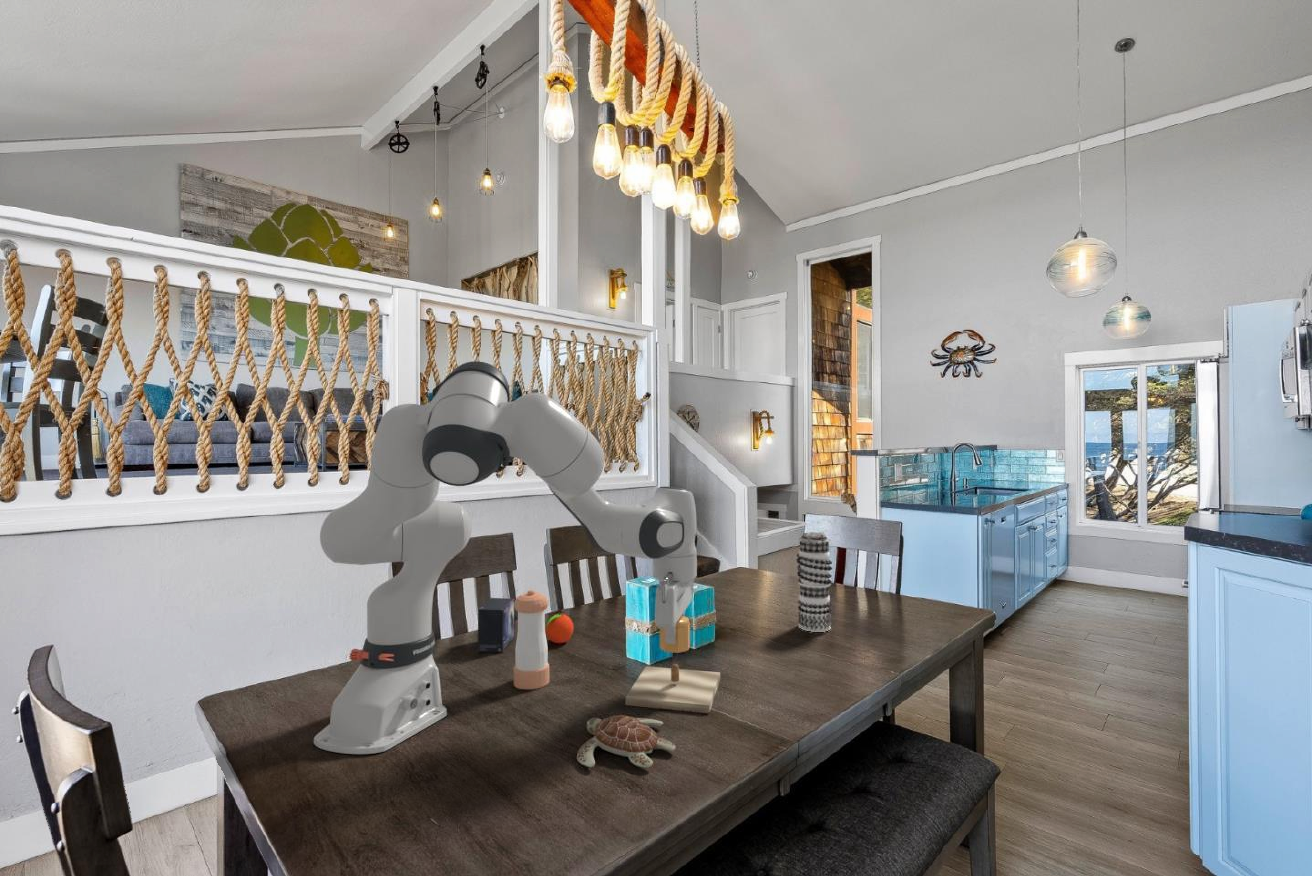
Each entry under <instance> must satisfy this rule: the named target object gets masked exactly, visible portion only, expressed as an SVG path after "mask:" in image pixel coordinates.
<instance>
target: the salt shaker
mask: <svg viewBox="0 0 1312 876" xmlns="http://www.w3.org/2000/svg"><path fill="white" fill-rule="evenodd" d="M548 606H549V599H548V598H547V596H546V595H545V594H542V593H539V592H536V591H535V590H534V589H529V590H527V592H526V593H522V594H520V595H518V596H517V597H516V599H514V610H515V611H516V612H517V636H516V641H515V649H514V651H515V652H514V653H515V654H514V655H515V664H514V666H513V686H514V687H515V688H517V689H519V690H536V689H540V688H541V689H542V688H543V687H546V686H547V685H548V684H549V683H550V664H549V662H548V651H549V649H548V641H547V637H546V636H547V634H546V630H545V629H546V622H545V620H546V617H545V616H546V614H545V610H547V608H548Z"/></svg>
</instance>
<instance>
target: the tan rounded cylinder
mask: <svg viewBox="0 0 1312 876" xmlns="http://www.w3.org/2000/svg"><path fill="white" fill-rule="evenodd" d="M675 629H676V642H675V643H674V644H667V643H666V634H665V630H664V628H661V627H659V649H660V650H662V651H664V652H666V653H674V654H675V653H676V654H679V653H682V652H683V653H684V652H687V651H689V650H690V647H691V622H690V619H689V617H686V616H685V615H684V616H681V617H680V619H679V620H678V622H677V623H676V626H675Z"/></svg>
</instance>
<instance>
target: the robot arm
mask: <svg viewBox="0 0 1312 876" xmlns="http://www.w3.org/2000/svg"><path fill="white" fill-rule="evenodd" d="M431 391H432V392H431V393H432V394H431V395H432V399H431V401H429V402H428V403H426V404H417V403H402V404H398V405H396V406H393V407H392V408H389V410H387V411H386V412H385V413H384V415H383V416H382V417H381V419H380V422H379V424H378V425H377V429H376V432H375V435H374V439H373V441H372V442H373V443H372V449H371V456H370V457H371V458H370V468H369V469H370V470H369V477H368V482H367V486H366V487H365V489H364V491H362V492H361V494H359V495H358V496H357V497H356V498H355V499H353V500H351V501H350V502H348V503H346V504H344V505H342V506H340V507H338V508H335V509H333V510H332V511H331V512H330V513H329V514H328V515H327V516H326V518H325V519H324V521H323V523H322V525H321V528H320V531H319V532H320V533H319V541H320V546H321V549H322V551H323V552H324V554H325V556H326V557H327V558H328V559H329V560H330V561H332V562H333V563H335V564H344V565H345V564H346V565H357V566H360V565H361V566H364V565H365V566H366V565H375V564H376V565H377V564H388V563H397V562H402V563H403V566H402V568H401V569H400V572H398V574H396V575H395V576H393V577H391V578H390V579H388V580H386V581H384V582H383V583H381V584H380V585H378V586H377V587H376V588H374V590H373V591H371V592H370V594H369V597H368V599H367V601H366V630H367V632H366V633H367V634H366V635H367V636H366V638H365V640H364V642H363V643H364V644H363V646H362V649H358V648H353V649H351V651H350V653H349V656H348V657H349V660H350V661H351V662H355V661H356V662H357V661H358V662H359V663H360V664H359V666H358V668H356V670H355V671H354V672H353V674H352V676H351V677H350V678H349V680H348V682H347V683H346V684H345V686H344V687H343V688H342V689H341V691H340V692H339V694H338V696H336V698H335V699H334V701H333V702H332V706H331V711H330V722H329V724H328V725H327V726H325V727H324V728H323V729H322V730H321V731H319V732H318V733H317V734H316V735H315V736H314V738H313V744H314V745H315V746H316V748H319V749H321V750H324V751H327V752H333V753H339V754H348V755H349V754H350V755H369V754H370V755H371V754H377V753H382V752H386V751H388V750H390V749H392V748H394V747H395V746H397V745H399V744H401V743H402V742H403V741H405V740H407V739H409V738H410V737H412V736H414V735H416V734H417V733H419V732H421V731H422V730H424V729H426V728H428V727H430V726H432V725H433V724H434V723H437V722H438V721H441V720H442V719H444V718H445V717H447V715H448V711H447V708H446V706H445V705H443V702H442V701H443V700H442V691H441V679H440V673H439V668H438V666H437V664H436V662H435V660H434V656H433V653H434V652H435V643H436V641H435V639H436V638H435V632H434V631H433V629H432V628H433V627H432V625H433V624H432V622H433V621H432V617H433V614H432V613H433V603H434V602H433V601H434V592H435V588H436V585H437V583H438V579H439V578H440V576H441V573H443V571H444V569H445V568H446V566H447V565H448V564H449V563H450V562H451V561H452V559H454V557H456V556H457V555H458V554H459V553H461V552H462V551H463V550H464V549H465V548H466V546H467V544H468V542H469V540H470V539H471V535H472V529H473V528H472V520H471V518H470V515H469V514H470V513H468V511H467V510H466V508H465V507H464V506H463V505H462V504H461V503H458V502H452V501H445V500H438V499H437V496H438V494H439V489H440V483H443V484H446V485H449V486H454V487H464V486H465V487H466V486H469V485H474V484H476V483H477V484H478V483H479V482H483V481H484V480H486V479H488V478H489V477H490V476H491V475H493V474H495V473H501V472H502V471H504V470H505V468H507V466H508V465H509V462H510V457H513V458H517V459H519V460H520V461H522V462H523V463H524V464H525V465H527V467H528V468H529V469H530V470H531V471H533V473H535V475H537V476H538V477H539V478H540V479H541V480H542V481H543V482H544V483H546V484H547V486H548V488H549V489H550V492H551V493H552V494H553V495H554V496H555V497H556V499H557V500H558V501H559V503H561V504H562V505H563V507H565V509H566V510H567V511H568V512H569V513H570V514H571V516H573V518H574V519H576V521H577V522H579V524H580V525H581V527H582V528H583V531H584V532H585V535H586V537H587V540H588V542H589V543H590V544H591V546H592V548H593V549H594V550H595V551H597V552H599V553H601V554H607V555H608V554H609V555H621V556H627V557H633V558H641V559H646V560H647V559H648V560H652V577H653V578H654V579H655V580H658V585H657V587H656V591H655V601H654V602H655V603H654V605H655V606H654V623H655V627H657V628H660V627H661V628H664V630H665V634H666V643H667V644H674V643H675V642H676V629H675V626H676V623H677V622H678V620H679V619H680V617H681V616H684V617H685V613H686V610H687V608H688V607H689V605H690V604H691V603H692V599H693V594H694V584H695V579H696V578H697V575H698V574H697V573H698V559H697V555H698V554H697V547H696V543H695V541H696V534H697V524H698V523H697V522H698V521H697V510H696V509H697V508H696V502H695V497H694V495H693V493H692V491H690V490H689V489H687V488H682V487H673V486H659V487H657V488H656V489H655V492H654V495H653V497H652V498H651V499H649V500H648V501H647V502H646V503H644V504H642V505H638V506H637V505H632V504H631V505H629V504H621V503H615V502H609V501H607V500H605V499H603V498H602V496H601V495H600V494H599V493H598V492H597V491H596V489H595V488H594V487H593V486H594V485H595V484H596V483H597V481H598V480H599V479H600V477H601V475H602V473H603V470H604V466H605V452H604V449H603V448H602V446H601V444H600V442H599V441H598V439H597V438H596V436H594V435H593V433H592V432H591V431H590V430H589V429H588V428H587V427H586V426H585V425H584V424H583V423H582V422H581V421H580V420H579V419H578V418H577V417H576V416H575V415H574V414H572V412H570V411H569V410H568V409H567V408H565V407H564V406H563V405H561V404H560V403H558V401H556V400H554V399H553V398H551V397H550V396H549V395H546V394H545V393H542V392H529V393H526V394H522V395H521V396H519V397H518V398H516V399H515V400H513V401H511V394H510V386H509V382H508V380H507V378H506V376H505V374H504V373H503V372H502V370H500V369H499V368H497V367H496V366H494V365H493V364H490V363H488V362H484V361H479V360H477V361H475V360H474V361H467V362H464V363H461V364H459V366H457V367H455V369H453V370H452V371H451V372H450V373H448V375H447V376H446V377H445V378H444V379H443V380H442V381H441V382H440V383H439V384H438V385H436V386H435V387H434V388H433V389H432V390H431ZM502 465H503V466H502Z"/></svg>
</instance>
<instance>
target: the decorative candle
mask: <svg viewBox="0 0 1312 876" xmlns="http://www.w3.org/2000/svg"><path fill="white" fill-rule="evenodd" d="M798 541H799V549H798V553H796V557H797V558H796V559H795V560H796V563H797V564H798V565H797V566H796V568H797V572H796V574H797V577H798V579H797V583H798V585H799V593H798V594H799V595H798V596H799V598H798V600H797V604H798V605H799V606H797V608H798V609H797V610H798V611H799V612H798V613H797V616H798V619H797V621H798V622H797V623H798V624H797V625H798V626H799V627H798V629H799V628H801V629H803V630H806V631H811V632H810V633H812V632H824V633H826V632H825V631H828V630H830V629H831V630H832V628H831V625H832V622H831V619H832V615H831V613H830V612H832V608H831V606H832V603H831V602H830V601H831V596H830V586H831V585H832V580H830V579H831V578H832V574H830V573H829V571H832V570H833V567H832V566H831V565H832V564H833V561H832V560H831V559H829V558H830V556H831V555H830V554H831V553H830V544H829V543H830V541H831V540H830V538H828V537H827V535H826V534H825V533H823V532H812V531H811V532H804V533H803V534H802V535H801V537H800V538H798ZM801 629H800V630H801ZM803 630H802V631H803ZM831 630H830V631H831ZM806 631H805V632H806ZM828 632H829V631H828Z"/></svg>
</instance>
